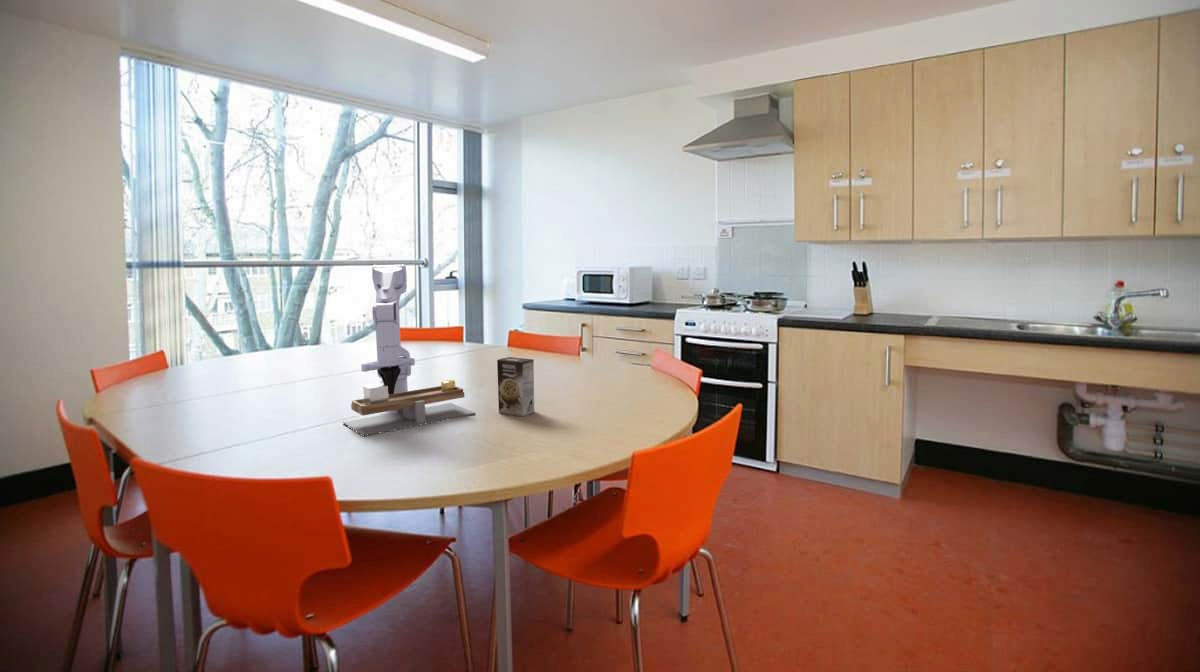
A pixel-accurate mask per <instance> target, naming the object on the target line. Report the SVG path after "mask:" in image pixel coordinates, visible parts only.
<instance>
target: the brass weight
mask: <svg viewBox="0 0 1200 672" xmlns="http://www.w3.org/2000/svg"><path fill="white" fill-rule="evenodd" d="M440 383H441V385H440V386H441V387H442V392H446V391H452V390H455V386H456V380H452V379H449V380H448V379H447V380H442V381H441V382H440Z"/></svg>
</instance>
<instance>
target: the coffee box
mask: <svg viewBox="0 0 1200 672" xmlns="http://www.w3.org/2000/svg"><path fill="white" fill-rule="evenodd" d="M496 362H497V363H496V364H497V396H498V397H497V398H498V401H497V402H498V413H499V414H505V415H511V416H520V417H525V416H527V415H529V414H532V413H534V412H535V380H534V379H535V378H534V375H535V372H534V369H535V368H534V366H535V365H534V362H535V361H534V358H522V357H514V356H511V357H510V356H509V357H502V358H499V359H497V360H496Z"/></svg>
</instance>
